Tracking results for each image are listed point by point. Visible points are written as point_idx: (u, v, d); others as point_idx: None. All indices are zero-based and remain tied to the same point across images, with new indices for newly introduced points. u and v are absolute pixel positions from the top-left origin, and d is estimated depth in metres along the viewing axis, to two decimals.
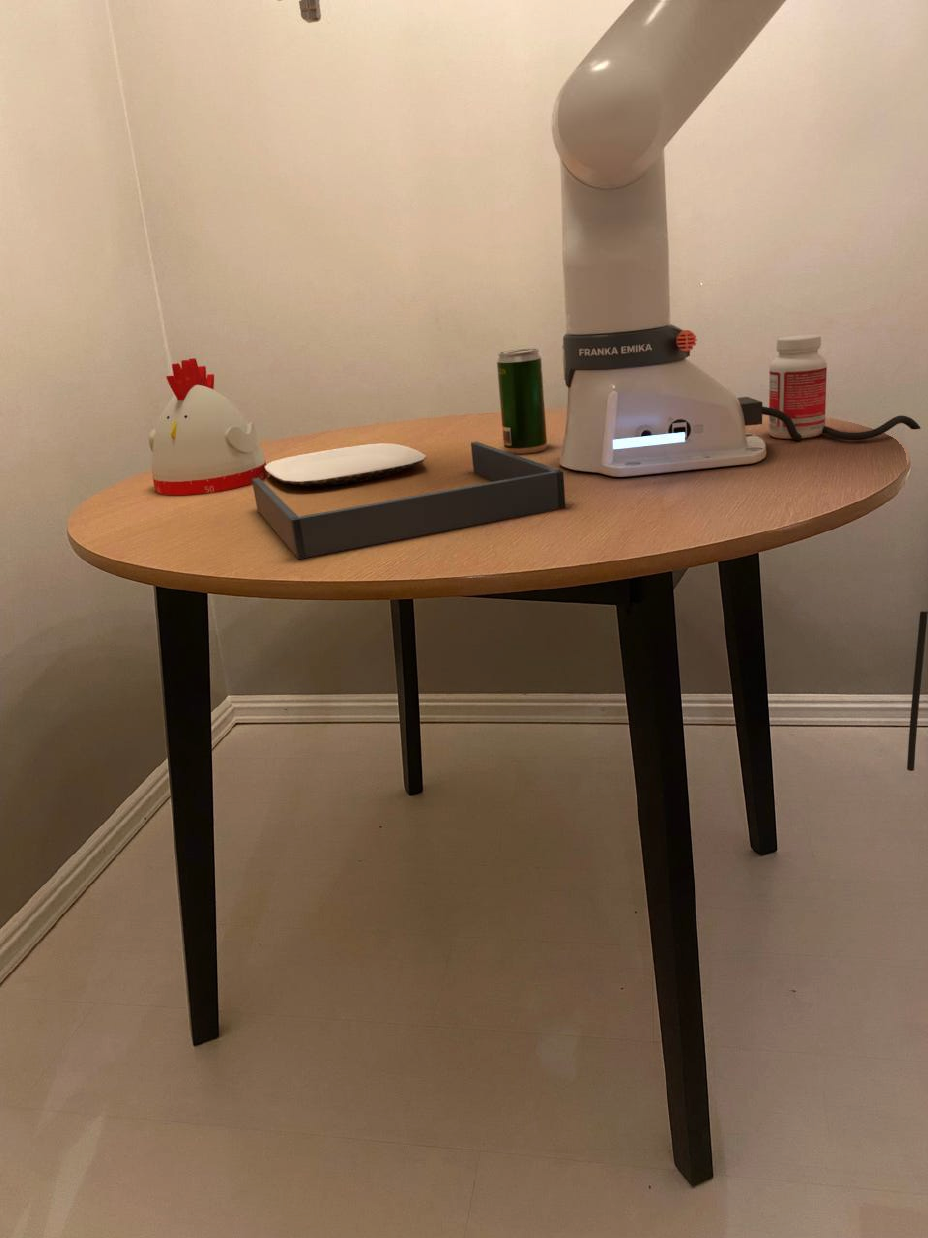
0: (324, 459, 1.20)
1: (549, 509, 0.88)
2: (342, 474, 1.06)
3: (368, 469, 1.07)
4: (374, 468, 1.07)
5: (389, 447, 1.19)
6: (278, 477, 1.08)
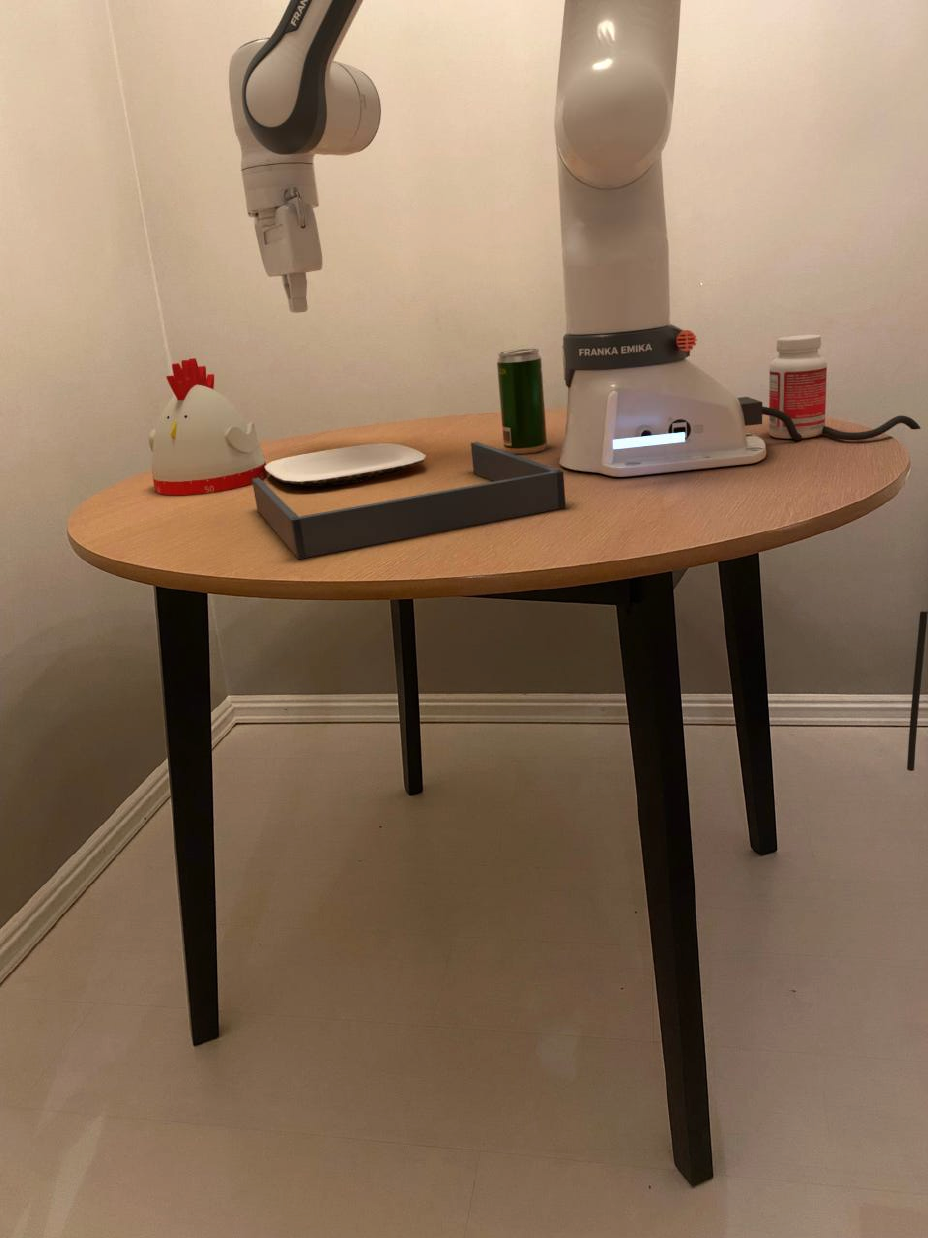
0: (324, 459, 1.20)
1: (549, 509, 0.88)
2: (342, 474, 1.06)
3: (368, 469, 1.07)
4: (374, 468, 1.07)
5: (389, 447, 1.19)
6: (278, 477, 1.08)
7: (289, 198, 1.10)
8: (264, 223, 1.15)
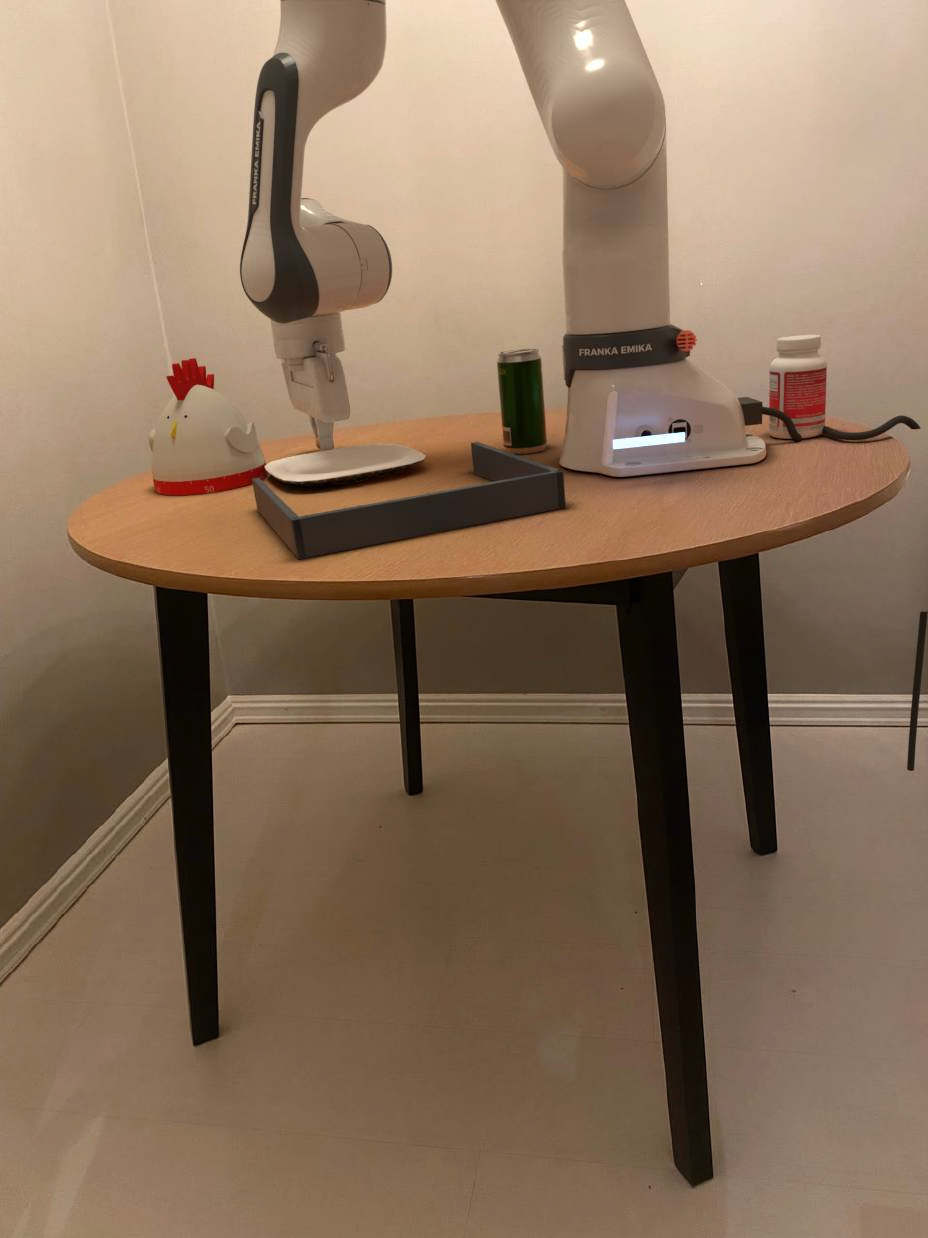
0: (324, 459, 1.20)
1: (549, 509, 0.88)
2: (342, 474, 1.06)
3: (368, 469, 1.07)
4: (374, 468, 1.07)
5: (389, 447, 1.19)
6: (278, 477, 1.08)
7: (317, 350, 1.14)
8: (292, 369, 1.18)
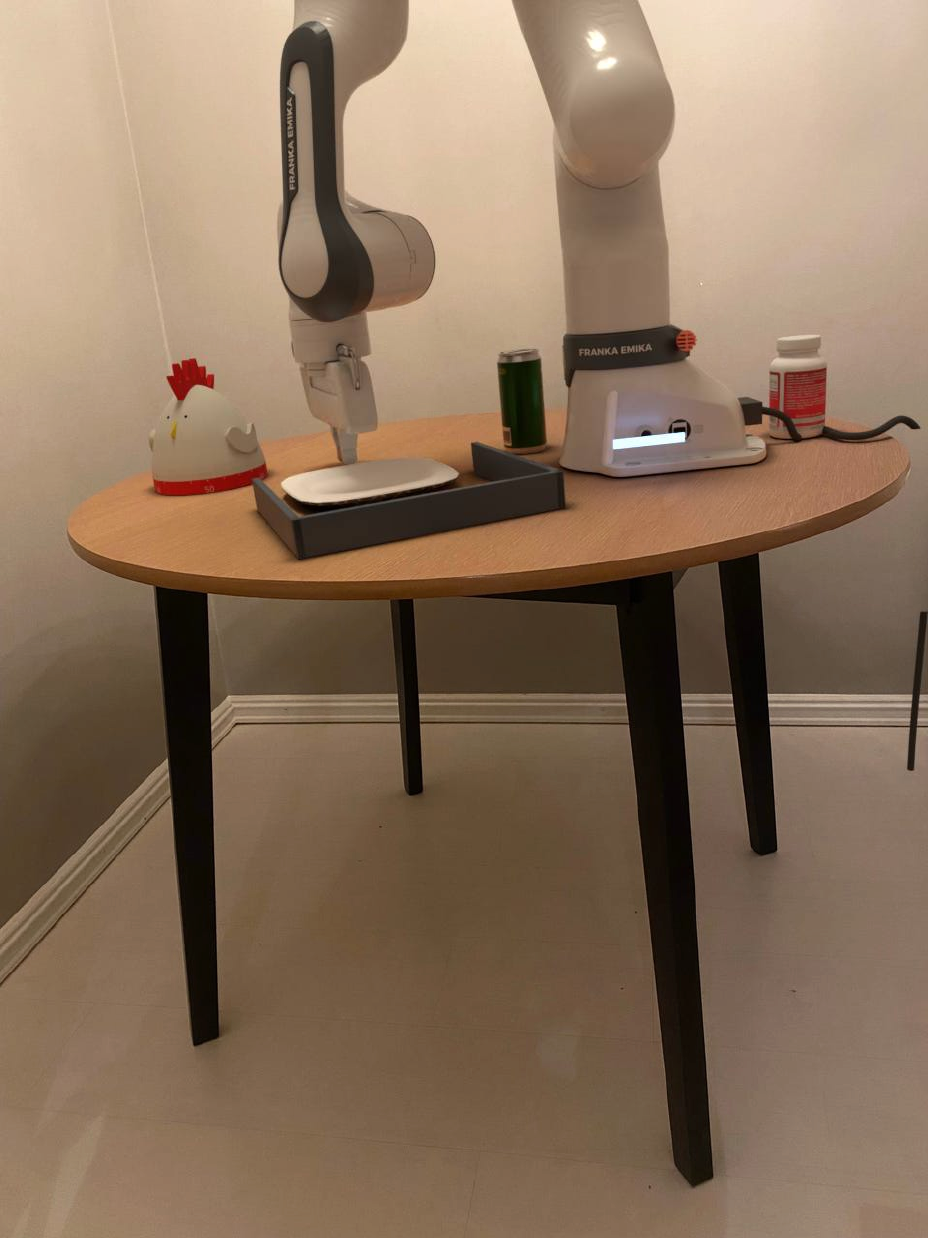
0: (347, 475, 1.09)
1: (549, 509, 0.88)
2: (365, 495, 0.94)
3: (394, 489, 0.95)
4: (401, 488, 0.96)
5: (418, 462, 1.08)
6: (294, 497, 0.97)
7: (342, 354, 1.02)
8: (313, 375, 1.07)
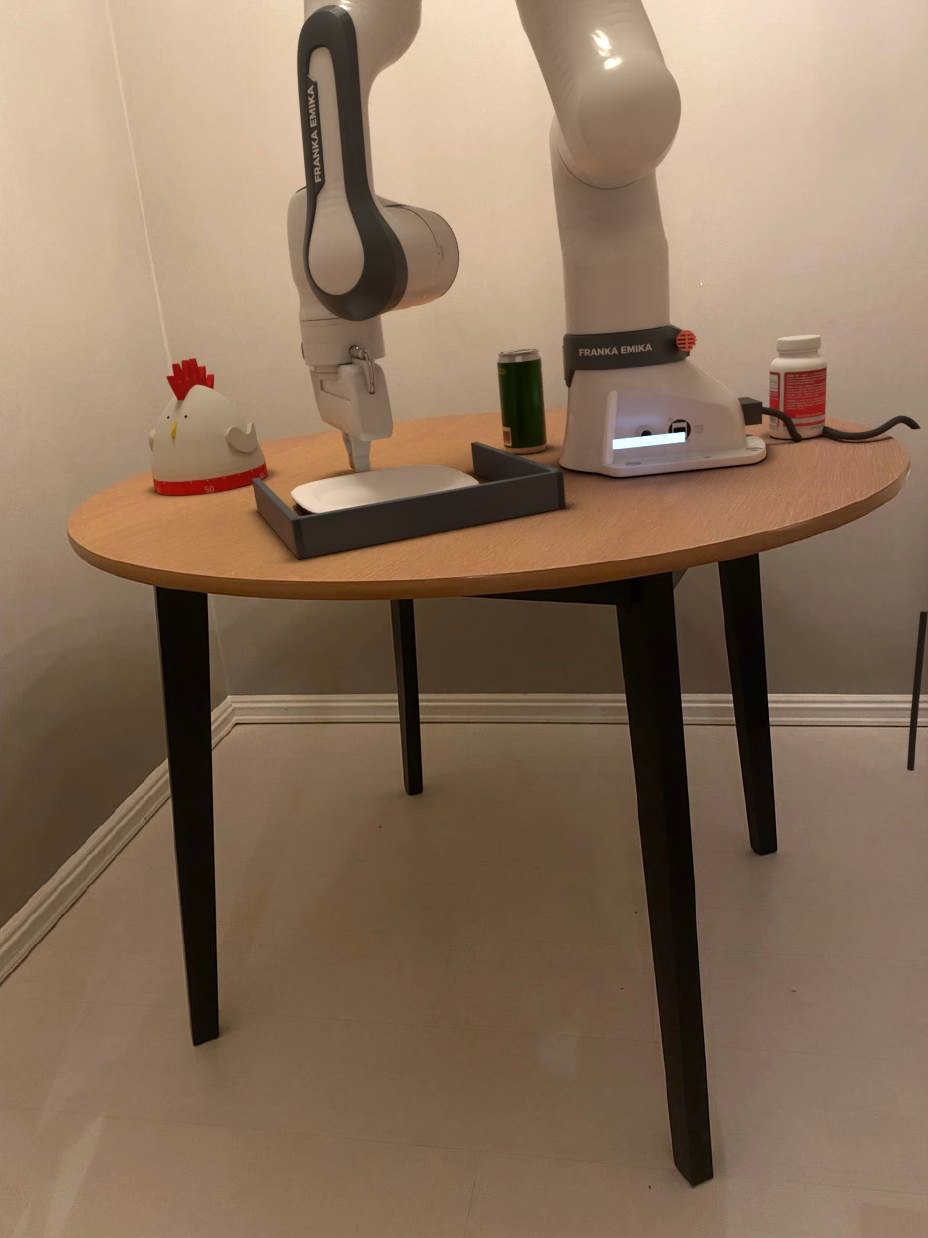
0: (359, 483, 1.03)
1: (549, 509, 0.88)
2: None
3: None
4: None
5: (435, 470, 1.02)
6: (306, 508, 0.92)
7: (355, 357, 0.97)
8: (324, 378, 1.01)
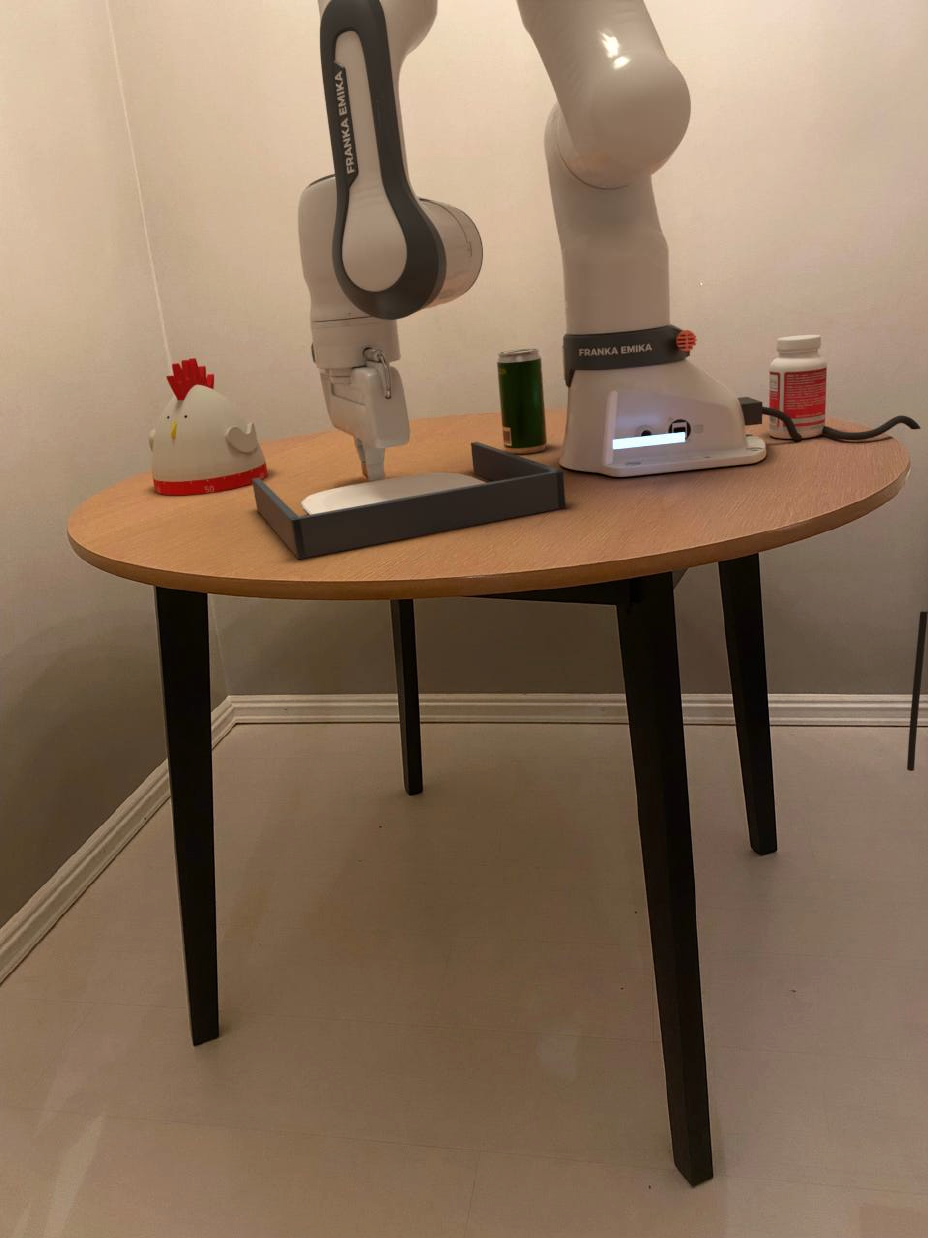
0: (373, 492, 0.98)
1: (549, 509, 0.88)
2: None
3: None
4: None
5: (453, 478, 0.97)
6: None
7: (370, 359, 0.92)
8: (337, 382, 0.96)
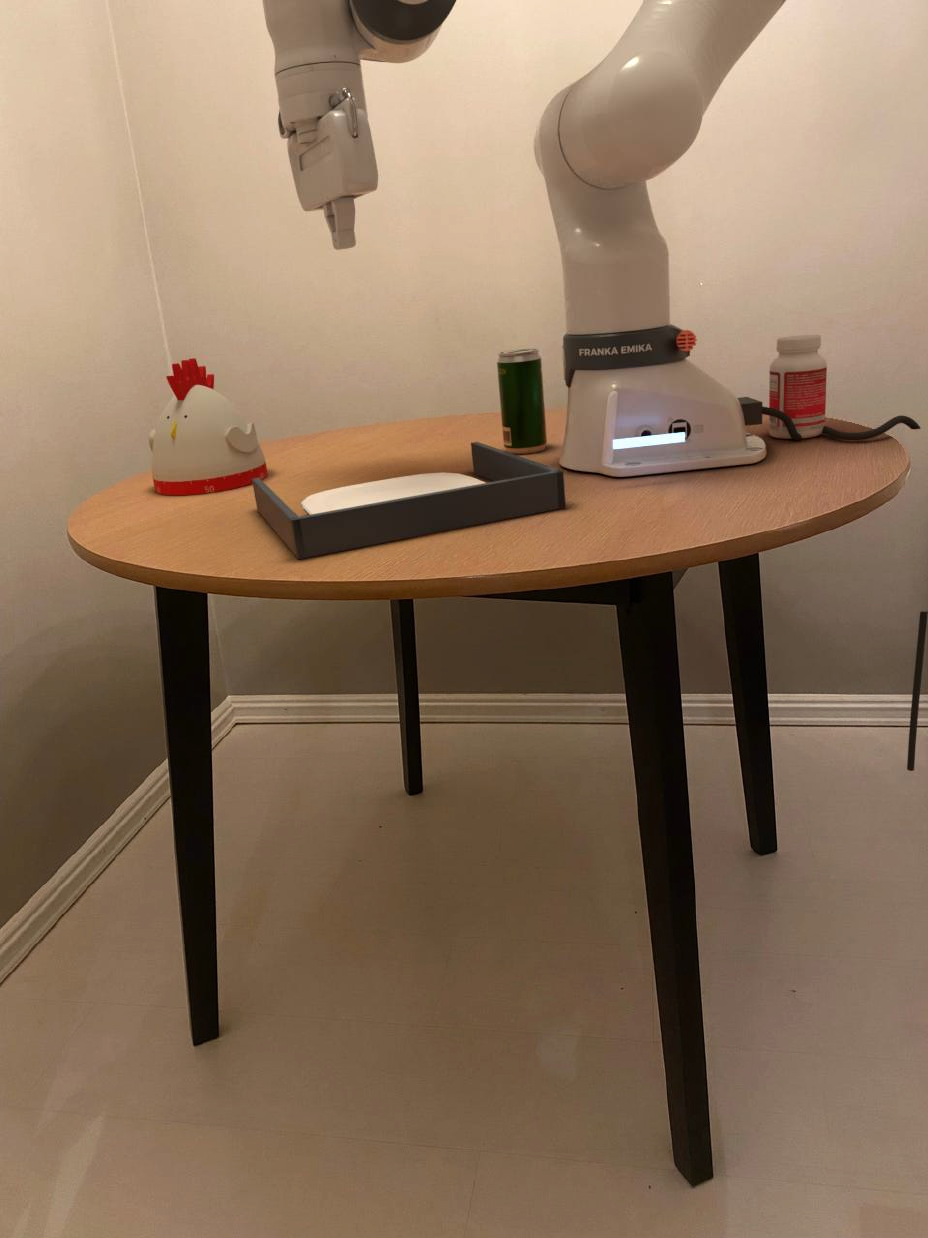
0: (374, 492, 0.98)
1: (549, 509, 0.88)
2: None
3: None
4: None
5: (453, 479, 0.97)
6: None
7: (336, 104, 0.91)
8: (304, 139, 0.95)
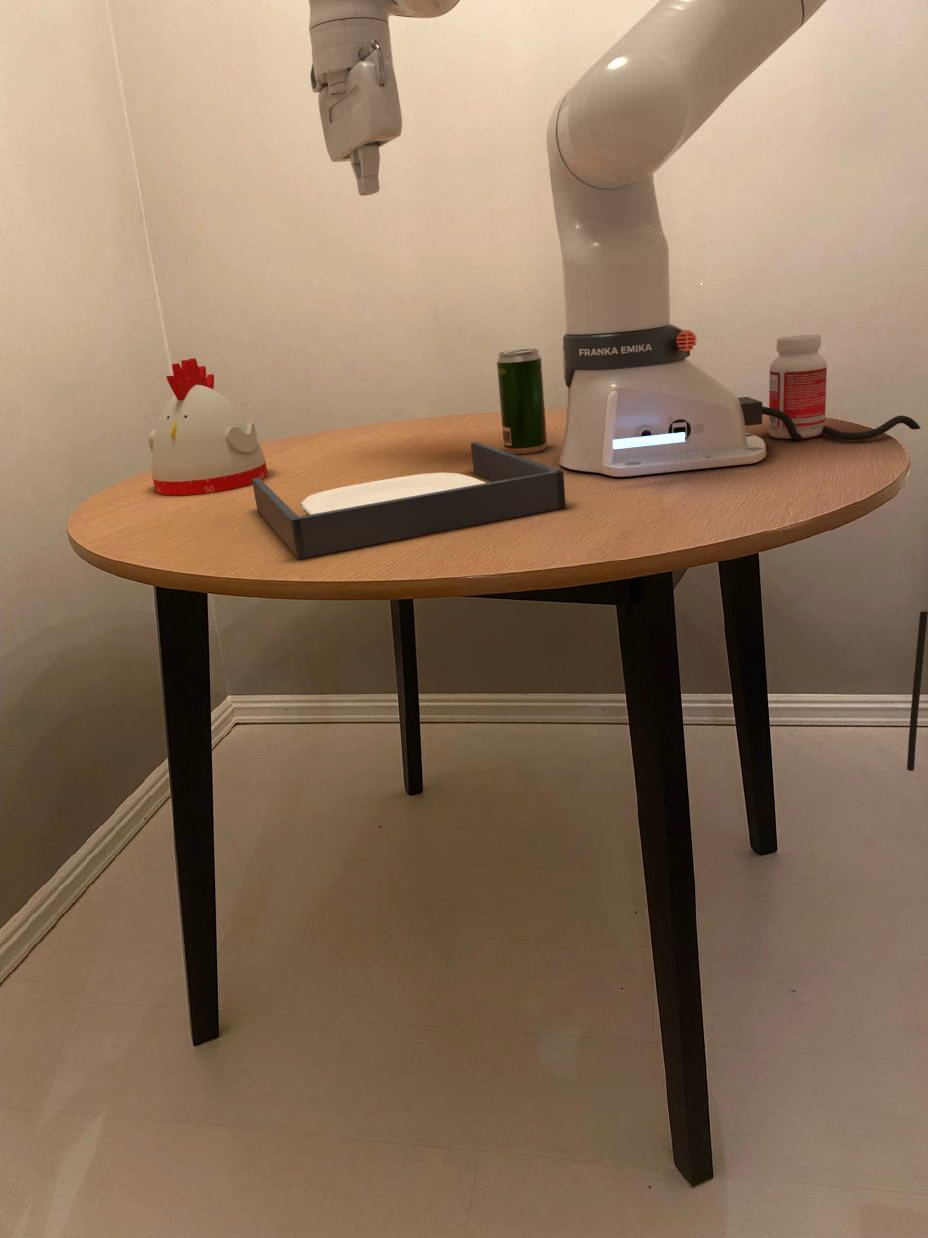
0: (374, 492, 0.98)
1: (549, 509, 0.88)
2: None
3: None
4: None
5: (453, 479, 0.97)
6: None
7: (365, 56, 0.99)
8: (334, 89, 1.04)
